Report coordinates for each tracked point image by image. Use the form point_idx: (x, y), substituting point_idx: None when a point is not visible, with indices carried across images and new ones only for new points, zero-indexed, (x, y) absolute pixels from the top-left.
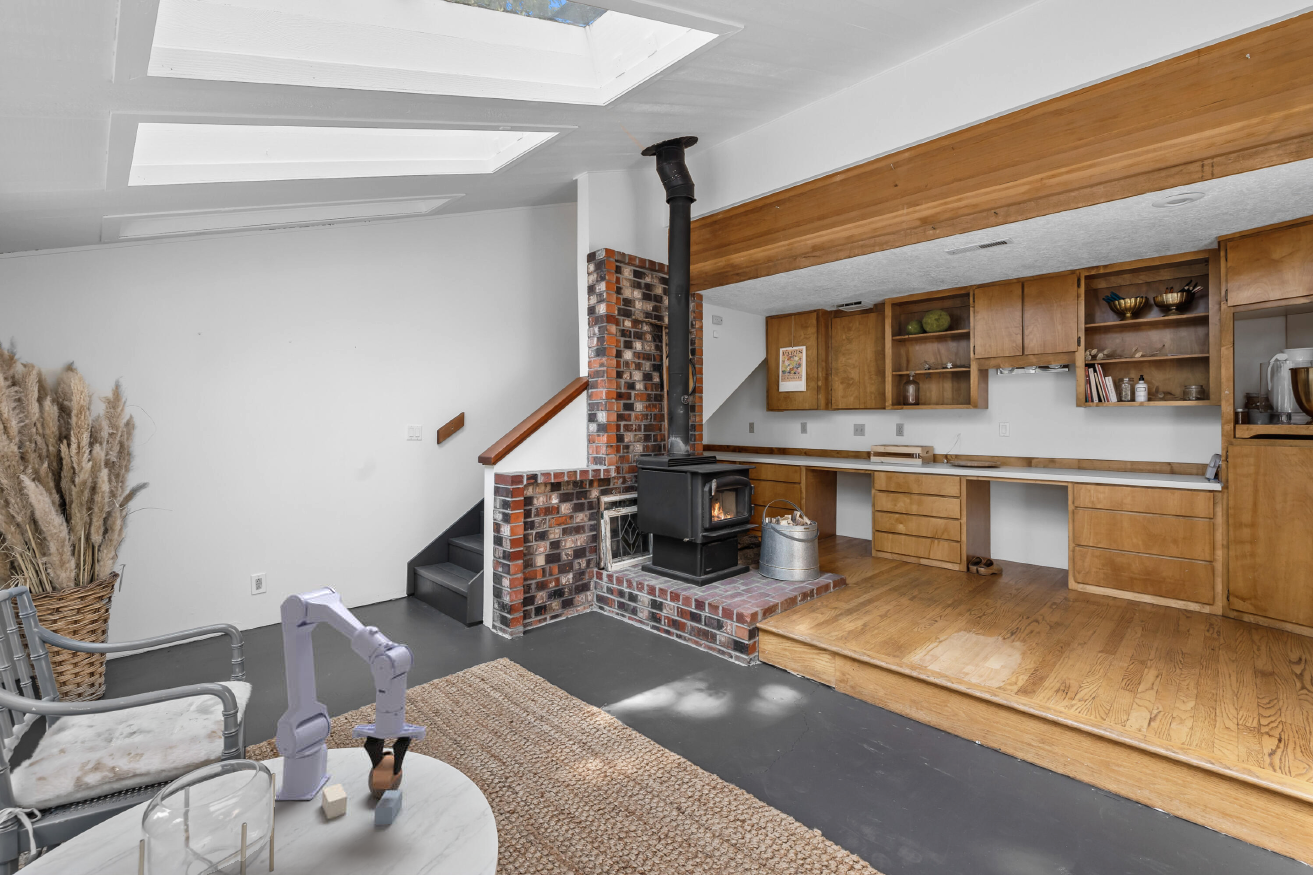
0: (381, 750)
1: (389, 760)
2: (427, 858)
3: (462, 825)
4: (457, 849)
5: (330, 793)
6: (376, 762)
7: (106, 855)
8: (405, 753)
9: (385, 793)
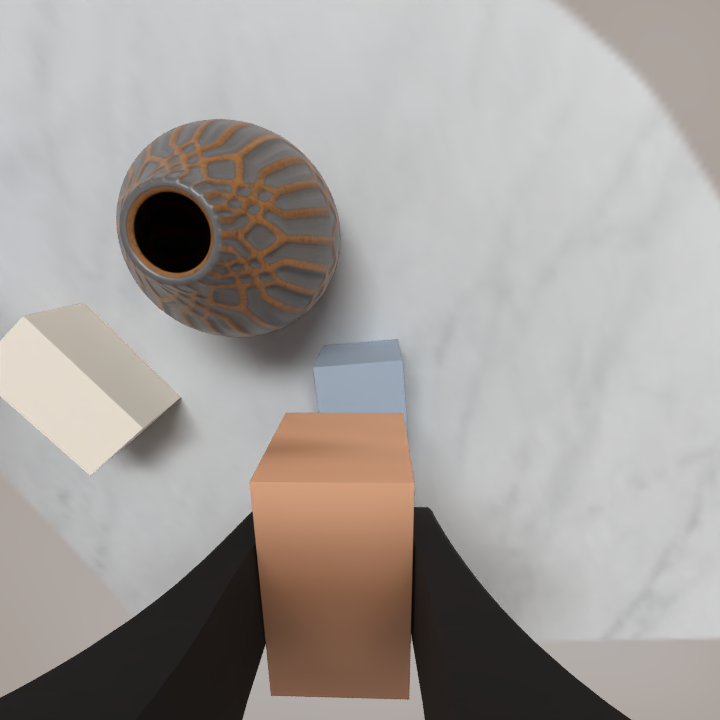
0: (217, 657)
1: (329, 562)
2: (602, 613)
3: (705, 452)
4: (702, 574)
5: (44, 407)
6: (253, 678)
7: None
8: (487, 592)
9: (324, 394)
